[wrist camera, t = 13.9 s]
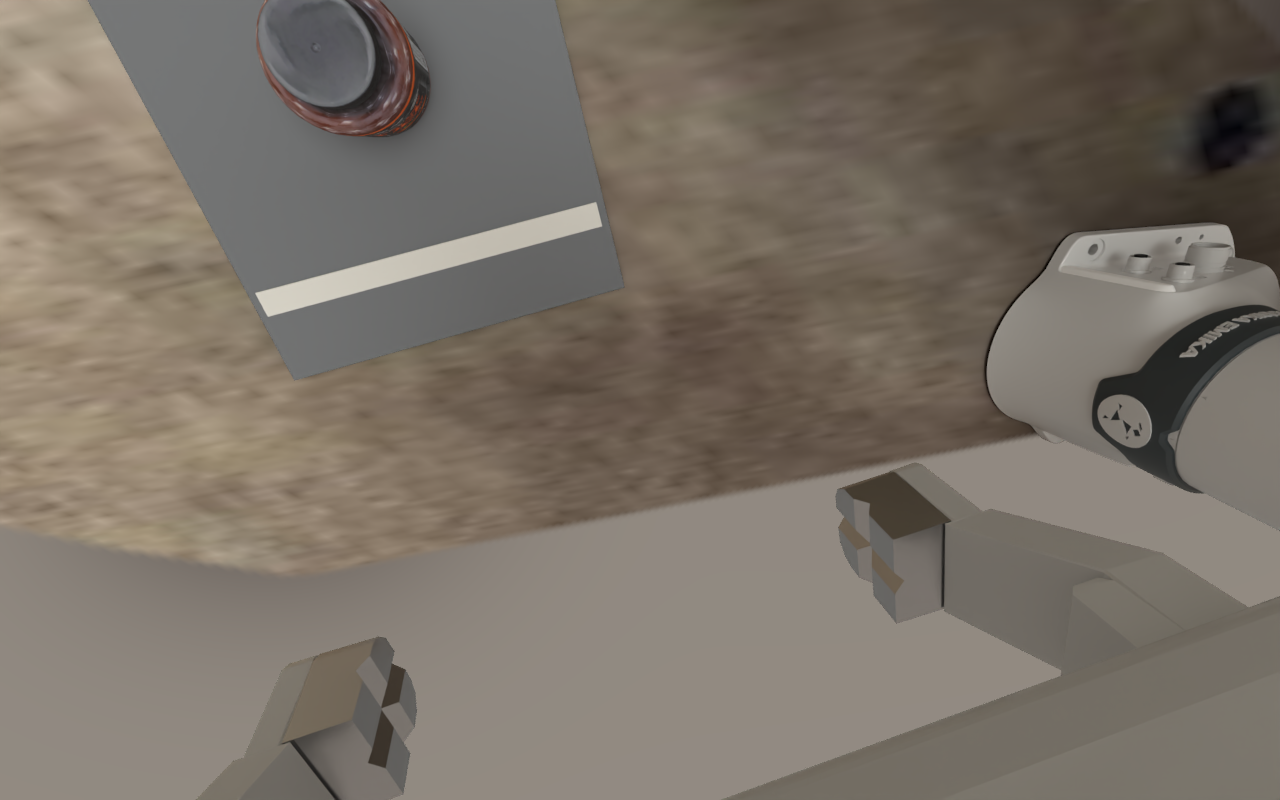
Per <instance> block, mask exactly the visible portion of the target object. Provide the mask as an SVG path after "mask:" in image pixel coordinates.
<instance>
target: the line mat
mask: <svg viewBox="0 0 1280 800" xmlns="http://www.w3.org/2000/svg"><path fill="white" fill-rule="evenodd" d="M264 1H265V0H88V2H89V4H90V5H91V7H92V9H93V11H94V13H95V15H96V16H97V18H98V20H99V22H100V24H101V26H102V27H103V29H104V31H105V33H106V35H107V37H108V39H109V40H110V42H111V44H112V46H113V48H114V50H115V51H116V53H117V55H118V57H119V59H120V61H121V62H122V64H123V66H124V68H125V70H126V72H127V73H128V75H129V77H130V79H131V81H132V83H133V84H134V86H135V88H136V90H137V92H138V94H139V96H140V97H141V99H142V101H143V103H144V105H145V107H146V108H147V110H148V112H149V114H150V116H151V118H152V119H153V121H154V123H155V125H156V127H157V129H158V130H159V132H160V134H161V136H162V138H163V140H164V141H165V143H166V145H167V147H168V149H169V151H170V153H171V154H172V156H173V158H174V160H175V162H176V164H177V165H178V167H179V169H180V171H181V173H182V175H183V176H184V178H185V180H186V182H187V184H188V186H189V187H190V189H191V191H192V193H193V195H194V197H195V198H196V200H197V202H198V204H199V206H200V208H201V209H202V211H203V213H204V215H205V217H206V219H207V221H208V222H209V224H210V226H211V228H212V230H213V232H214V233H215V235H216V237H217V239H218V241H219V243H220V244H221V246H222V248H223V250H224V252H225V254H226V255H227V257H228V259H229V261H230V263H231V265H232V266H233V268H234V270H235V272H236V274H237V276H238V278H239V279H240V281H241V283H242V285H243V287H244V289H245V290H246V292H247V294H248V296H249V298H250V300H251V301H252V303H253V305H254V307H255V309H256V311H257V312H258V314H259V316H260V318H261V320H262V322H263V323H264V325H265V327H266V329H267V331H268V333H269V335H270V336H271V338H272V340H273V342H274V344H275V346H276V347H277V349H278V351H279V353H280V355H281V357H282V358H283V360H284V362H285V364H286V366H287V368H288V369H289V371H290V373H291V375H292V377H293V379H294V380H298V379H302V378H305V377H309V376H312V375H316V374H319V373H323V372H326V371H330V370H334V369H337V368H341V367H344V366H348V365H351V364H355V363H358V362H362V361H365V360H369V359H373V358H376V357H380V356H383V355H387V354H390V353H394V352H397V351H401V350H404V349H408V348H412V347H415V346H419V345H422V344H426V343H429V342H433V341H436V340H440V339H443V338H447V337H451V336H454V335H458V334H461V333H465V332H468V331H472V330H475V329H479V328H482V327H486V326H489V325H493V324H497V323H500V322H504V321H507V320H511V319H514V318H518V317H521V316H525V315H528V314H532V313H536V312H539V311H543V310H546V309H550V308H553V307H557V306H560V305H564V304H567V303H571V302H575V301H578V300H582V299H585V298H589V297H592V296H596V295H599V294H603V293H606V292H610V291H614V290H617V289H621V288H624V283H623V278H622V274H621V270H620V266H619V262H618V258H617V254H616V250H615V245H614V241H613V237H612V233H611V229H610V225H609V221H608V217H607V212H606V208H605V204H604V200H603V196H602V192H601V188H600V183H599V179H598V175H597V171H596V167H595V163H594V159H593V155H592V150H591V146H590V142H589V138H588V134H587V130H586V126H585V122H584V117H583V113H582V109H581V105H580V101H579V97H578V93H577V89H576V84H575V80H574V76H573V72H572V68H571V64H570V60H569V56H568V51H567V47H566V43H565V39H564V35H563V31H562V27H561V23H560V18H559V14H558V10H557V6H556V2H555V0H380V1H381V2H382V3H383V4H384V5H385V6H386V7H387V8H388V9H389V10H390V11H391V12H392V14H393V15H394V16H395V17H396V18H397V20H398V21H399V22H400V23H401V24H402V26H403V27H404V28H405V29H406V30H407V31H408V33H409V34H410V35H411V36H412V37H413V39H414V40H415V41H416V43H417V44H418V46H419V48H420V49H421V51H422V53H423V56H424V58H425V60H426V63H427V66H428V69H429V75H430V82H431V90H430V97H429V102H428V105H427V108H426V110H425V112H424V114H423V115H422V117H421V118H420V119H419V121H418V122H417V123H416V124H415V125H414V126H413V127H412V128H410V129H408V130H407V131H405V132H402V133H400V134H398V135H394V136H389V137H365V136H364V137H362V136H360V137H358V136H346V135H338V134H334V133H330V132H327V131H325V130H322V129H320V128H318V127H316V126H313V125H312V124H310V123H308V122H307V121H305V120H303V119H302V118H300V117H299V116H297V115H296V114H295V113H294V112H293V111H292V110H290V108H288V107H287V106H286V104H285V103H284V102H283V101H282V100H281V99H280V98H279V97H278V96H277V94H276V93H275V91H274V90H273V88H272V87H271V85H270V83H269V82H268V80H267V78H266V76H265V74H264V71H263V69H262V66H261V63H260V60H259V56H258V52H257V46H256V25H257V20H258V15H259V12H260V9H261V6H262V5H263V3H264Z"/></svg>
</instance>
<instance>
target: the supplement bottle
mask: <svg viewBox="0 0 1280 800" xmlns="http://www.w3.org/2000/svg"><path fill="white" fill-rule="evenodd" d="M256 46H257V52H258V56H259V60H260V63H261V66H262V69H263V71H264V74H265V76H266V78H267V80H268V82H269V83H270V85H271V87H272V88H273V90H274V91H275V93H276V94H277V96H278V97H279V98H280V99H281V100H282V101H283V102H284V103H285V104H286V106H287V107H288V108H290V110H292V111H293V112H294V113H295V114H296V115H297V116H299V117H300V118H302V119H303V120H305V121H307V122H308V123H310V124H312V125H313V126H316V127H318V128H320V129H322V130H325V131H327V132H330V133H334V134H338V135H346V136H358V137H360V136H362V137H364V136H365V137H389V136H394V135H398V134H400V133H402V132H405V131H407V130H408V129H410V128H412V127H413V126H414V125H415V124H416V123H417V122H418V121H419V119H420V118H421V117H422V115H423V114H424V112H425V110H426V108H427V105H428V102H429V97H430V90H431V82H430V75H429V69H428V66H427V63H426V60H425V58H424V56H423V53H422V51H421V49H420V48H419V46H418V44H417V43H416V41H415V40H414V39H413V37H412V36H411V35H410V34H409V33H408V31H407V30H406V29H405V28H404V27H403V26H402V24H401V23H400V22H399V21H398V20H397V18H396V17H395V16H394V15H393V14H392V12H391V11H390V10H389V9H388V8H387V7H386V6H385V5H384V4H383V3H382V2H381V1H380V0H265V1H264V3H263V5H262V6H261V9H260V12H259V15H258V20H257V25H256Z"/></svg>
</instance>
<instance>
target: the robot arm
mask: <svg viewBox="0 0 1280 800" xmlns="http://www.w3.org/2000/svg"><path fill="white" fill-rule="evenodd" d="M987 383H988V388H989V392H990V395H991V397H992V399H993V401H994V403H995V404H996V406H997V407H998V408H999V409H1000V410H1001V411H1002V412H1003V413H1004V414H1006V415H1007V416H1009V417H1011V418H1013V419H1016V420H1019V421H1022V422H1025V423H1028V424H1030V425H1031V426H1032V427H1033V429H1034V430H1035V431H1036V432H1037V434H1038V435H1039V436H1040V437H1041V438H1043V439H1045V440H1047V441H1049V442H1052V443H1061V442H1063V441H1068V442H1070V443H1072V444H1075V445H1077V446H1079V447H1082V448H1084V449H1086V450H1089V451H1091V452H1094V453H1096V454H1098V455H1101V456H1103V457H1106V458H1108V459H1110V460H1113V461H1115V462H1118V463H1120V464H1123V465H1125V466H1129V467H1138V468H1140V469H1143V470H1144V471H1147V472H1148V473H1150V474H1152V475H1154V477H1155V478H1157V479H1159V480H1161V481H1163V482H1165V483H1167V484H1170V485H1175V486H1177V487H1179V488H1181V489H1183V490H1186V491H1189V492H1193V493H1205V494H1208V495H1209V496H1211V497H1213V498H1215V499H1217V500H1219V501H1221V502H1223V503H1225V504H1227V505H1229V506H1231V507H1233V508H1235V509H1237V510H1239V511H1241V512H1243V513H1245V514H1247V515H1249V516H1251V517H1253V518H1255V519H1257V520H1259V521H1261V522H1263V523H1265V524H1267V525H1269V526H1271V527H1273V528H1275V529H1277V530H1279V531H1280V289H1279V284H1278V280H1277V278H1276V275H1275V273H1274V272H1273V271H1272V270H1271V268H1269V267H1268V266H1267V265H1265V264H1262V263H1259V262H1254V261H1250V260H1245V259H1240V258H1235V249H1234V242H1233V238H1232V235H1231V232H1230V230H1229V228H1228V226H1226V225H1223V224H1218V223H1211V222H1210V223H1195V224H1182V225H1168V226H1155V227H1142V228H1129V229H1116V230H1102V231H1089V232H1077V233H1073V234H1071V235H1069V236H1068V237H1067V238H1066V239H1065V240H1064V241H1063V242H1062V243H1061V245H1060V246H1059V247H1058V249H1057V251H1056V252H1055V254H1054V255H1053V257H1052V259H1051V261H1050V262H1049V264H1048V266H1047V268H1046V269H1045V271H1044V272H1043V273H1042V274H1041V276H1040V277H1039V278H1038V279H1037V280H1036V281H1035V282H1034V283H1033V284H1032V285H1031V286H1029V287H1028V288H1027V289H1026V290H1025V291H1024V292H1023V294H1022V295H1021V296H1020V297H1019V298H1018V299H1017V300H1016V301H1015V303H1014V304H1013V305H1012V307H1011V308H1010V309H1009V311H1008V312H1007V314H1006V315H1005V317H1004V319H1003V320H1002V322H1001V324H1000V326H999V328H998V330H997V332H996V334H995V337H994V339H993V342H992V345H991V348H990V352H989V357H988V363H987ZM836 507H837V509H838V510H839V511H840V512H841V513H842V515H843V516H844V518H843V520H842V522H841V524H840V526H839V527H838V528H839V536H840V543H841V545H842V548H843V551H844V554H845V557H846V558H847V560H848V562H849V564H850V566H851V567H852V568H853V570H854V571H855V572H856V574H857V575H858V576H859V577H860V578H862V579H864V580H867V581H870V582H872V583H873V591H874V596H875V598H876V599H877V600H878V601H879V603H880V604H881V605H882V606H883V608H884V609H885V610H886V611H887V612H888V614H889V615H890V616H891V617H892V618H893V620H894V621H895V622H896V623H900V622H903V621H906V620H909V619H913V618H916V617H919V616H922V615H925V614H928V613H932V612H935V611H938V610H941V609H944V611H945V612H947V613H949V614H951V615H953V616H955V617H957V618H959V619H961V620H963V621H965V622H967V623H968V624H970V625H972V626H975V627H977V628H978V629H980V630H982V631H984V632H987V633H988V634H990V635H992V636H994V637H997V638H998V639H1000V640H1002V641H1005V642H1006V643H1008V644H1010V645H1012V646H1014V647H1016V648H1018V649H1020V650H1022V651H1024V652H1026V653H1028V654H1030V655H1032V656H1034V657H1036V658H1038V659H1040V660H1042V661H1044V662H1046V663H1048V664H1050V665H1052V666H1054V667H1056V668H1058V669H1060V670H1061V676H1060V677H1057V678H1054V679H1051V680H1049V681H1046V682H1043V683H1040V684H1038V685H1035V686H1032V687H1029V688H1027V689H1024V690H1021V691H1018V692H1015V693H1013V694H1010V695H1007V696H1004V697H1002V698H999V699H996V700H994V701H991V702H988V703H986V704H983V705H980V706H977V707H974V708H972V709H969V710H966V711H963V712H961V713H958V714H955V715H953V716H950V717H947V718H944V719H941V720H939V721H936V722H933V723H931V724H928V725H925V726H922V727H920V728H917V729H914V730H911V731H909V732H906V733H903V734H900V735H897V736H895V737H892V738H890V739H887V740H884V741H881V742H878V743H876V744H873V745H870V746H867V747H865V748H862V749H859V750H856V751H854V752H851V753H848V754H846V755H843V756H840V757H837V758H834V759H832V760H829V761H826V762H823V763H821V764H818V765H815V766H812V767H810V768H807V769H804V770H801V771H799V772H796V773H793V774H790V775H788V776H785V777H782V778H780V779H777V780H774V781H771V782H769V783H766V784H763V785H761V786H758V787H755V788H752V789H749V790H747V791H744V792H741V793H738V794H736V795H733V796H730V797H727V798H725V799H722V800H1280V596H1279V597H1277V598H1274V599H1271V600H1268V601H1266V602H1263V603H1260V604H1257V605H1255V606H1252V607H1247V606H1246V605H1244V604H1242V603H1241V602H1239V601H1238V600H1236V599H1234V598H1233V597H1231V596H1230V595H1228V594H1226V593H1225V592H1223V591H1222V590H1220V589H1219V588H1217V587H1216V586H1214V585H1212V584H1211V583H1209V582H1208V581H1206V580H1204V579H1203V578H1201V577H1199V576H1198V575H1196V574H1195V573H1193V572H1192V571H1190V570H1188V569H1187V568H1185V567H1184V566H1182V565H1181V564H1179V563H1177V562H1176V561H1174V560H1173V559H1171V558H1170V557H1168V556H1167V555H1165V554H1163V553H1161V552H1157V551H1153V550H1149V549H1145V548H1141V547H1137V546H1133V545H1129V544H1125V543H1122V542H1118V541H1114V540H1110V539H1106V538H1102V537H1098V536H1094V535H1090V534H1086V533H1082V532H1079V531H1074V530H1071V529H1067V528H1063V527H1059V526H1055V525H1051V524H1047V523H1043V522H1040V521H1036V520H1032V519H1028V518H1024V517H1020V516H1016V515H1012V514H1009V513H1004V512H1001V511H997V510H993V509H989V510H986V511H981V510H980V509H979V508H977V507H976V506H975V505H974V504H972V503H971V502H970V501H968V500H967V499H966V498H965V497H963V496H962V495H961V494H959V493H958V492H957V491H956V490H954V489H953V488H951V487H950V486H949V485H948V484H946V483H945V482H944V481H942V480H941V479H940V478H939V477H937V476H936V475H935V474H934V473H932V472H931V471H930V470H928V469H927V468H926V467H924V466H923V465H922V464H918V463H912V464H909V465H906V466H904V467H901V468H898V469H895V470H892V471H890V472H889V473H885V474H882V475H879V476H876V477H873V478H870V479H867V480H864V481H861V482H858V483H855V484H852V485H849V486H846V487H843V488H840V489H837V493H836ZM393 656H394V650H393V648H392V647H391V645H390V644H389V642H388V641H387V639H386V638H384V637H376V638H372V639H369V640H365V641H362V642H359V643H355V644H352V645H349V646H346V647H342V648H339V649H335V650H332V651H329V652H325V653H322V654H320V655H318V656H313V657H310V658H307V659H304V660H300V661H297V662H294V663H290V664H289V665H288V666H286V667H285V668H284V669H283V670H282V671H281V673H280V676H279V678H278V680H277V682H276V685H275V687H274V689H273V692H272V694H271V696H270V699H269V701H268V703H267V705H266V708H265V710H264V712H263V715H262V717H261V719H260V721H259V724H258V726H257V728H256V730H255V733H254V735H253V737H252V739H251V742H250V744H249V746H248V748H247V751H246V753H245V756H244V758H241V759H238V760H235V761H233V762H232V763H231V764H230V765H229V766H228V767H227V768H226V769H225V770H224V771H223V772H222V773H221V774H220V775H219V776H218V777H217V778H216V779H215V780H214V781H213V783H212V784H211V785H210V786H209V787H208V788H207V789H206V790H205V791H204V792H203V793H202V794H201V795H200V796H199V797H198V798H197V799H196V800H389V799H392V798H394V797H397V796H400V795H403V793H404V787H405V781H406V775H407V769H408V764H409V757H410V752H409V750H408V749H407V747H406V746H405V744H404V741H405V740H406V738H407V737H408V735H409V734H410V733H411V731H412V730H413V729H414V727H415V720H416V713H417V709H416V708H417V707H416V695H415V690H414V687H413V684H412V681H411V679H410V677H409V675H408V673H407V672H406V670H405V669H403V668H401V667H398V666H396V665H394V664H392V661H393Z"/></svg>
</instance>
